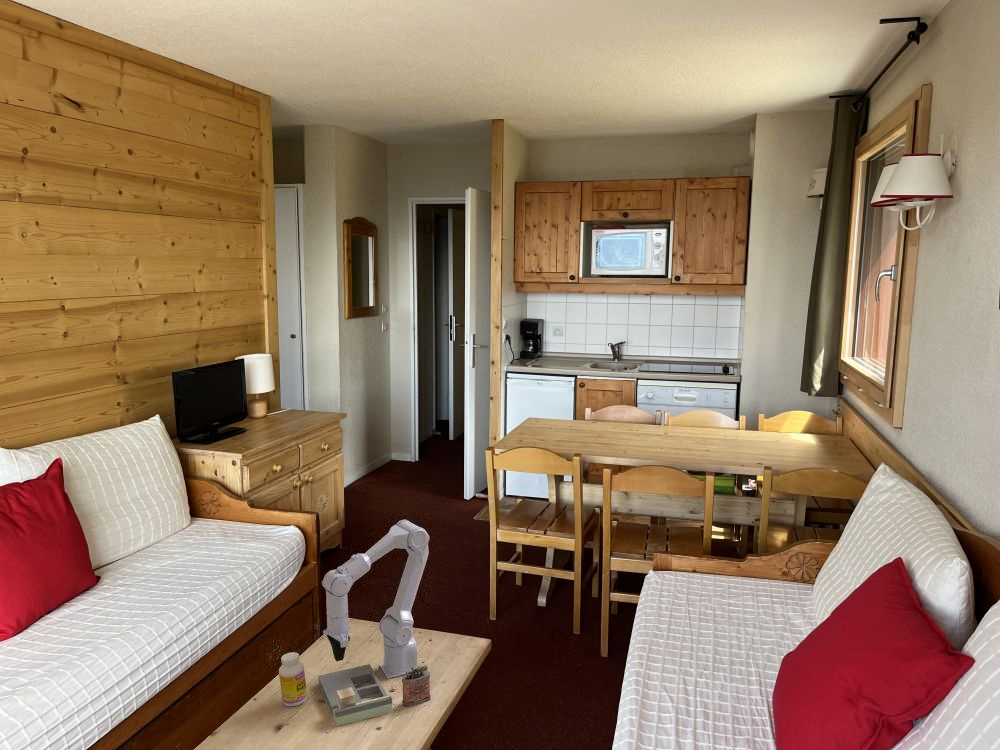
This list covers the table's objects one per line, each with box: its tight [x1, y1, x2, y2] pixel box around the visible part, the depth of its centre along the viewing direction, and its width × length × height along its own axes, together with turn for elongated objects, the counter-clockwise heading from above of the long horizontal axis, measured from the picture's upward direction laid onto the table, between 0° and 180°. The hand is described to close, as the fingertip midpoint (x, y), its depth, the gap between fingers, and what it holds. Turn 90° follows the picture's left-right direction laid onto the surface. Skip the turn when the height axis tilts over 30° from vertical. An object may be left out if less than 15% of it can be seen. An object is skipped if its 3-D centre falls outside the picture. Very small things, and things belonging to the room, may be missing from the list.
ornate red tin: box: [401, 664, 432, 708], centre depth 206 cm, size 8×3×10 cm, turn 117°
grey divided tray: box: [317, 663, 393, 727], centre depth 209 cm, size 15×22×4 cm
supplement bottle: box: [278, 651, 308, 707], centre depth 206 cm, size 7×7×13 cm
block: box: [337, 687, 356, 709], centre depth 200 cm, size 4×4×4 cm
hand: (339, 659), depth 211 cm, fingers closed
